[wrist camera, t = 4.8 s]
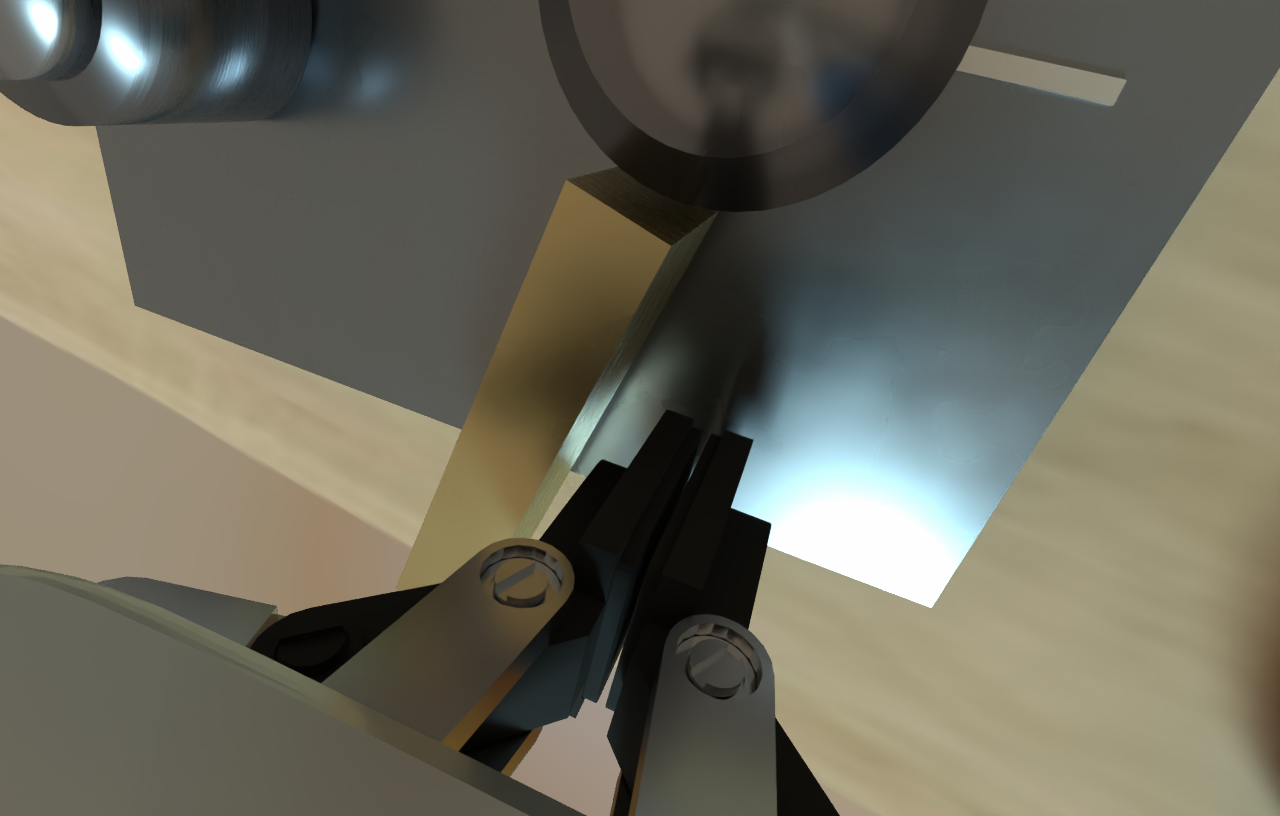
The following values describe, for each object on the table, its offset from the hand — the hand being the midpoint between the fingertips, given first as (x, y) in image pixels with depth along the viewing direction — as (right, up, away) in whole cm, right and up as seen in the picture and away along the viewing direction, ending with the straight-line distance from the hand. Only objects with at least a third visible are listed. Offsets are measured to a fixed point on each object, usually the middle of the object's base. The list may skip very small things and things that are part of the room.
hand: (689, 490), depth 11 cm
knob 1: (-1, +4, -1) cm, 4 cm away
